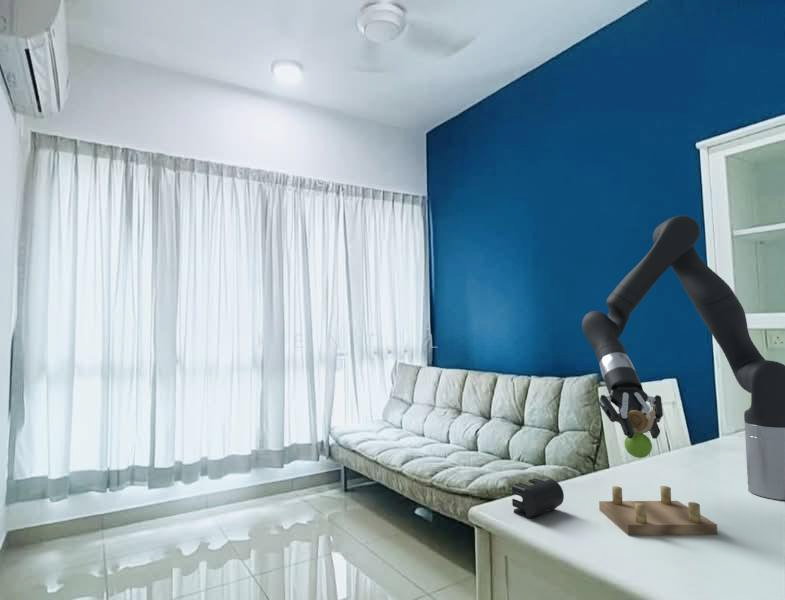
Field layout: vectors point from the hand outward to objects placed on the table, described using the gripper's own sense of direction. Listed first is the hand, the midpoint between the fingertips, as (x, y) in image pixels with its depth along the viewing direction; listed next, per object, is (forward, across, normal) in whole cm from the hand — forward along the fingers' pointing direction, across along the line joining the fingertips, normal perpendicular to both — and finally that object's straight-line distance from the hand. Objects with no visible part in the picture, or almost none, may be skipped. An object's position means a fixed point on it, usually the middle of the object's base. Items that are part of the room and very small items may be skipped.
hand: (643, 436), depth 102 cm
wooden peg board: (+13, +1, +12) cm, 18 cm away
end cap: (+11, -22, +15) cm, 29 cm away
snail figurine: (+2, 0, +5) cm, 6 cm away
